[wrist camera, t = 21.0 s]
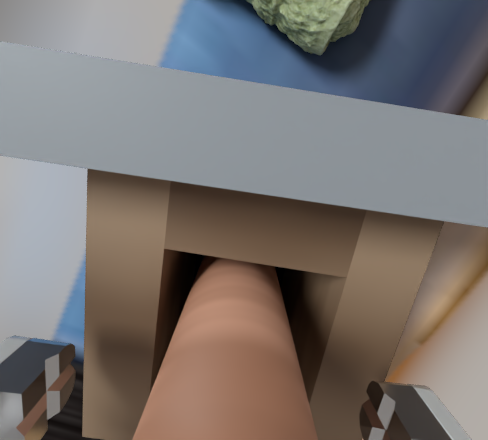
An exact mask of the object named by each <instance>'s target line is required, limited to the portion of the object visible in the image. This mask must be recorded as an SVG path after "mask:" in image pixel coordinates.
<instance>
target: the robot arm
mask: <svg viewBox="0 0 488 440" xmlns="http://www.w3.org/2000/svg"><path fill="white" fill-rule="evenodd" d="M74 357H75V346H74V345H73V344H71V343H64V342H57V341H51V340H44V339H37V338H27V337H21V336H12V337H9V338H7V339H5V340H4V341H3V342H1V343H0V440H40V439H41V438H42V436H43V435H44V434H45V432H46V431H47V420H48V419H49V418H51V417H52V416H54V415H55V414H57V413H59V412H60V411H61V409H62V408H63V406H64V405H65V403H66V402H67V401H68V398H69V396H70V394H71V392H72V389H73V386H74V382H75V369H74V368H73V367H72V365H71V364H70V362H71V361H72V360H73V359H74ZM366 392H367V394H368V397H369V399H368V400H367V401H366V402H364V403H363V404H362V406H361V410H360V413H359V421H360V429H361V433H362V437H363V439H364V440H471V438H470V437H469V436H468V434H467V433H466V432H465V431H464V429H463V428H462V427H461V426H460V424H459V423H458V422H457V421H456V420H455V418H454V417H453V416H452V415H451V413H450V412H449V411H448V409H447V408H446V407H445V406H444V404H443V403H442V402H441V401H440V399H439V398H438V397H437V396H436V395H435V393H434V392H433V391H432V390H431V389H430V388H428V387H427V386H421V385H411V384H407V385H406V384H400V383H391V382H382V381H374V380H372V381H371V382H370V383H369V384H368V387H367V390H366Z"/></svg>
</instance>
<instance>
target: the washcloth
mask: <svg viewBox="0 0 488 440" xmlns="http://www.w3.org/2000/svg"><path fill="white" fill-rule="evenodd" d="M246 1H247V2H248V3H251V4H253V7H254V9H255V10H256V11H257V14H258V16H260V17H261V18H262V19H263V20H264V21H265V23H267V24H270V25H273V24H276V25H277V27H278V29H279V30H280V31H281V32H283V33H284V34H287V36H288V38H289V39H290V40H291V41H293V42H294V43H295V44H297V45H299V46H300V47H301V48H302V49H303V50H304V51H306V52H309V53H311V54H312V53H315V54H317V55H322V54H323V52H324V51H325V50H326V48H327V46H328V44H329V43H330V42H336V40H337V39H339V38H340V37H345V36H346V35H349V34H352V33H353V32H354V31H355V30H356V28H357V27H358V25H359V21H360V18H361V15H362V13H363V10H364V7H366V6H367V5H368V2H369V1H371V0H246Z"/></svg>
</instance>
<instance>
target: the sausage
mask: <svg viewBox="0 0 488 440" xmlns="http://www.w3.org/2000/svg"><path fill="white" fill-rule="evenodd" d="M132 440H318V438H317V434H316V430H315V426H314V422H313V418H312V414H311V410H310V405H309V401H308V397H307V393H306V389H305V385H304V381H303V377H302V373H301V369H300V365H299V361H298V357H297V353H296V349H295V345H294V341H293V337H292V333H291V329H290V325H289V321H288V317H287V313H286V309H285V305H284V301H283V297H282V293H281V289H280V285H279V281H278V277H277V273H276V269H275V266H270V265H264V264H258V263H251V262H245V261H239V260H233V259H226V258H220V257H214V256H208V255H204V256H203V259H202V262H201V264H200V267H199V269H198V272H197V274H196V277H195V280H194V282H193V285H192V287H191V290H190V292H189V295H188V298H187V300H186V303H185V305H184V308H183V311H182V313H181V316H180V318H179V321H178V323H177V326H176V329H175V331H174V334H173V336H172V339H171V341H170V344H169V347H168V349H167V352H166V354H165V357H164V360H163V362H162V365H161V367H160V370H159V372H158V375H157V378H156V380H155V383H154V385H153V388H152V390H151V393H150V396H149V398H148V401H147V403H146V406H145V409H144V411H143V414H142V416H141V419H140V421H139V424H138V427H137V429H136V432H135V434H134V437H133V439H132Z"/></svg>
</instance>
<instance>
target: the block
mask: <svg viewBox="0 0 488 440" xmlns="http://www.w3.org/2000/svg"><path fill="white" fill-rule="evenodd" d="M87 178H88V179H87V228H86V279H85V330H84V382H83V434H82V437H90V438H97V439H105V440H132V439H133V437H134V434H135V432H136V429H137V427H138V424H139V421H140V419H141V416H142V414H143V411H144V409H145V406H146V403H147V401H148V398H149V396H150V393H151V390H152V388H153V385H154V383H155V380H156V378H157V375H158V372H159V370H160V367H161V365H162V362H163V360H164V357H165V354H166V352H167V349H168V347H169V344H170V341H171V339H172V336H173V334H174V331H175V329H176V326H177V323H178V321H179V318H180V316H181V313H182V311H183V308H184V305H185V303H186V300H187V298H188V295H189V292H190V290H191V287H192V285H193V279H194V272H195V264H196V257H197V254H201V255H208V256H214V257H220V258H226V259H233V260H239V261H245V262H251V263H258V264H264V265H270V266H277V267H283V268H285V270H284V274H283V278H282V283H281V287H280V289H281V293H282V297H283V301H284V305H285V309H286V313H287V317H288V321H289V325H290V329H291V333H292V337H293V341H294V345H295V349H296V353H297V357H298V361H299V365H300V369H301V373H302V377H303V381H304V385H305V389H306V393H307V397H308V401H309V405H310V410H311V414H312V418H313V422H314V426H315V430H316V434H317V438H318V440H362V438H363V437H362V433H361V429H360V421H359V413H360V410H361V406H362V404H363V403H364V402H366V401H367V400H368V399H369V397H368V394H367V392H366V390H367V387H368V384H369V383H370V382H371V381H372V380H374V381H382V382H384V380H385V378H386V375H387V372H388V370H389V367H390V364H391V362H392V359H393V356H394V354H395V351H396V348H397V346H398V343H399V340H400V338H401V335H402V332H403V330H404V327H405V324H406V322H407V319H408V316H409V314H410V311H411V308H412V306H413V303H414V301H415V298H416V295H417V293H418V290H419V287H420V285H421V282H422V279H423V277H424V274H425V271H426V269H427V266H428V263H429V261H430V258H431V255H432V253H433V250H434V247H435V245H436V242H437V239H438V237H439V234H440V231H441V229H442V226H443V223H444V221H440V220H433V219H426V218H420V217H413V216H406V215H399V214H392V213H386V212H379V211H372V210H365V209H359V208H352V207H345V206H338V205H331V204H325V203H318V202H311V201H304V200H298V199H291V198H284V197H277V196H270V195H264V194H257V193H250V192H243V191H237V190H230V189H223V188H216V187H210V186H203V185H196V184H189V183H182V182H176V181H169V180H162V179H155V178H149V177H142V176H135V175H128V174H121V173H115V172H108V171H101V170H94V169H88V176H87Z"/></svg>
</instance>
